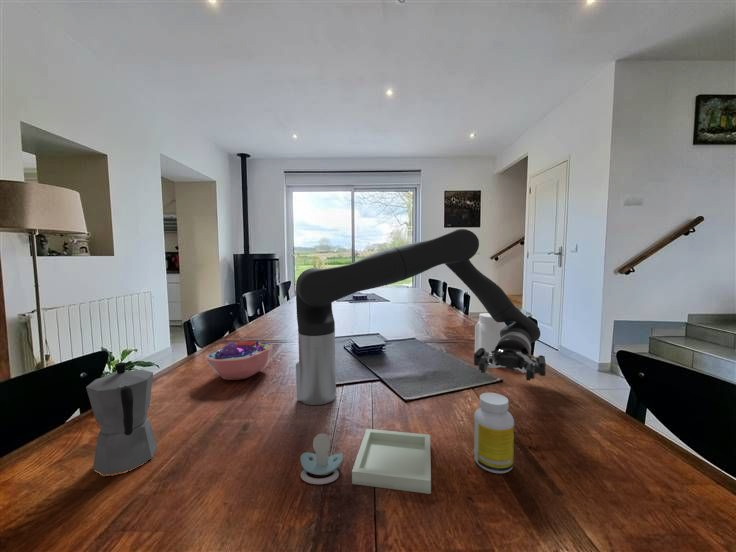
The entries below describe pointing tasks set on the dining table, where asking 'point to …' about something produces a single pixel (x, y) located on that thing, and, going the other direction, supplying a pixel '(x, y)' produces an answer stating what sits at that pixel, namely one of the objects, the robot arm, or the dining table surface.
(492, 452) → the pill bottle
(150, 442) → the coffeepot
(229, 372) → the cell model
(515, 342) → the robot arm
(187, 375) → the dining table surface
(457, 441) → the dining table surface
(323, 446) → the pacifier
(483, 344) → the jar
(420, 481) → the dish
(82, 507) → the dining table surface
